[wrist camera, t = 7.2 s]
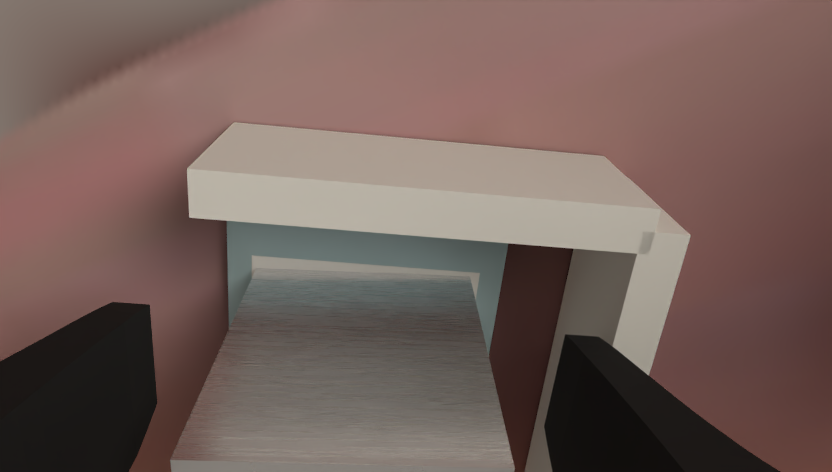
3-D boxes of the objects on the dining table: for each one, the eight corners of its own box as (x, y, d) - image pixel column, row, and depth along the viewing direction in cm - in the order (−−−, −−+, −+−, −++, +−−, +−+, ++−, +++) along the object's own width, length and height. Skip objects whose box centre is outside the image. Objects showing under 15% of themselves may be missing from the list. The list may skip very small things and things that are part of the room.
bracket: (256, 268, 13) (169, 460, 8) (469, 276, 13) (514, 468, 8) (265, 452, 15) (200, 698, 10) (450, 457, 15) (477, 700, 10)
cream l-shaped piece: (233, 122, 12) (186, 168, 9) (632, 158, 13) (697, 212, 10) (238, 456, 16) (205, 562, 13) (555, 473, 16) (588, 579, 13)
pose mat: (230, 212, 13) (226, 218, 13) (506, 235, 13) (509, 241, 13) (234, 465, 16) (231, 474, 15) (464, 478, 16) (465, 487, 16)
